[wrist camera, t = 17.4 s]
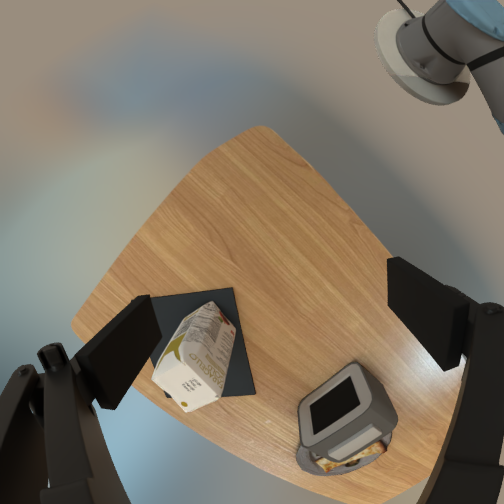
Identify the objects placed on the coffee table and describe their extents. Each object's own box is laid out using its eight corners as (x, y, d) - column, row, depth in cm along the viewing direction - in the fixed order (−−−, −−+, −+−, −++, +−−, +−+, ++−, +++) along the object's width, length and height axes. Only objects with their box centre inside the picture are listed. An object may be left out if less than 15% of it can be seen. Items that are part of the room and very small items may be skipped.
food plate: (385, 401, 54) (390, 411, 51) (392, 449, 58) (396, 457, 55) (284, 435, 57) (284, 445, 54) (309, 476, 62) (310, 485, 58)
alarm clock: (356, 356, 51) (379, 408, 36) (385, 382, 53) (409, 430, 38) (296, 402, 55) (301, 457, 40) (328, 423, 56) (338, 474, 41)
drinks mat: (131, 299, 51) (130, 300, 51) (232, 287, 50) (232, 288, 49) (167, 396, 57) (166, 397, 56) (255, 392, 55) (255, 394, 54)
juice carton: (212, 293, 49) (183, 353, 31) (242, 330, 51) (229, 400, 32) (181, 315, 51) (142, 376, 32) (210, 349, 52) (186, 419, 34)
